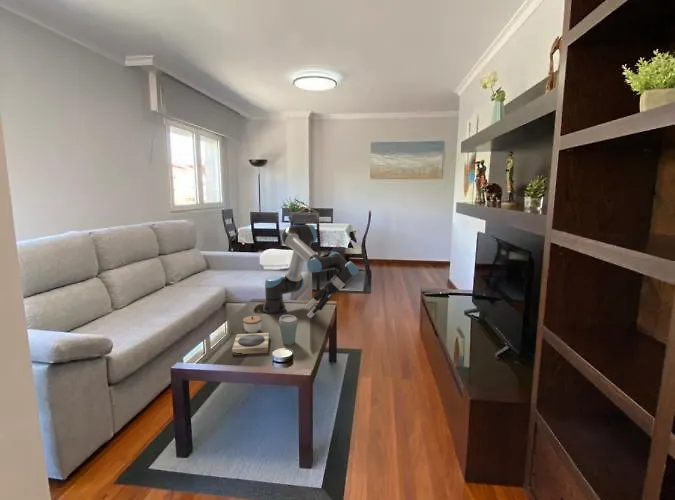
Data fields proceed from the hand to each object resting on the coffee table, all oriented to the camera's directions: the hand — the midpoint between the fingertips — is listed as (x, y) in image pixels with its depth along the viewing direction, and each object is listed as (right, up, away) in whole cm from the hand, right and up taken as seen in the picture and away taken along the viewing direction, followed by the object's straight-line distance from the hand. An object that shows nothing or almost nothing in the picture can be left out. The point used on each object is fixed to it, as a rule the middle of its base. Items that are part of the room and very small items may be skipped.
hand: (307, 311), depth 198 cm
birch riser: (-30, -18, -2) cm, 35 cm away
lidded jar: (-34, -15, +16) cm, 41 cm away
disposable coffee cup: (-11, -18, +2) cm, 21 cm away
